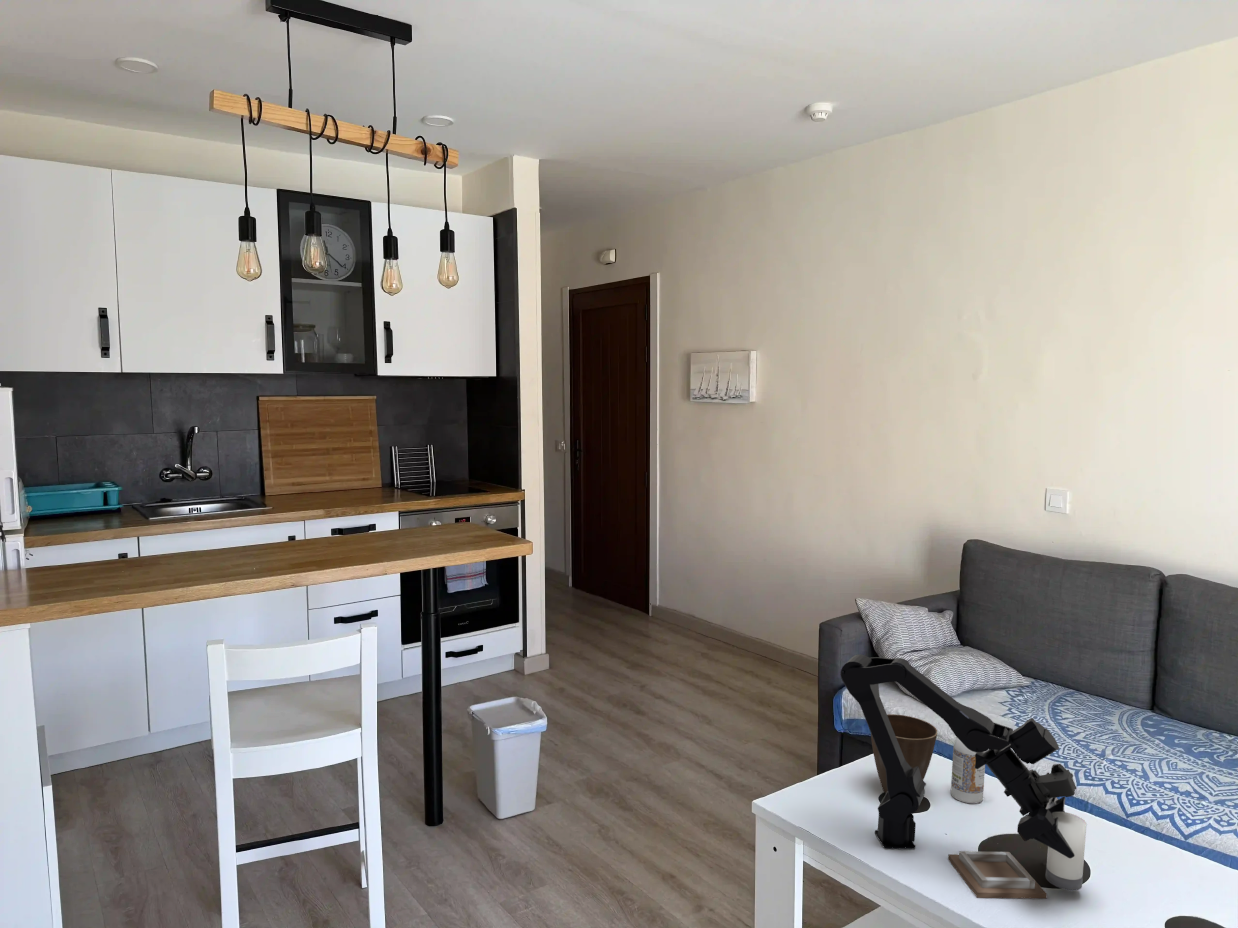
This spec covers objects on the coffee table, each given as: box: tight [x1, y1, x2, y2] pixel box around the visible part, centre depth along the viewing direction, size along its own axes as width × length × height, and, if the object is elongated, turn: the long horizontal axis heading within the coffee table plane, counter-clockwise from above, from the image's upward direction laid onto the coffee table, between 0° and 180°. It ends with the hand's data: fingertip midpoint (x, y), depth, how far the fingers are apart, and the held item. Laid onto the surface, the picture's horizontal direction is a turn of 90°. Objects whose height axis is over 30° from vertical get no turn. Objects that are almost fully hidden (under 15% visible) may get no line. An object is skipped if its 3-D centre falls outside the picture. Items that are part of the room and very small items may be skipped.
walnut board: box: [947, 850, 1048, 900], centre depth 161 cm, size 13×13×2 cm
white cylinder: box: [1045, 811, 1088, 891], centre depth 157 cm, size 6×6×12 cm
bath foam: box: [950, 736, 986, 804], centre depth 193 cm, size 7×7×20 cm
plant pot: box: [870, 713, 938, 794], centre depth 195 cm, size 15×15×16 cm
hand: (1074, 849), depth 156 cm, fingers closed on white cylinder, 6 cm apart
